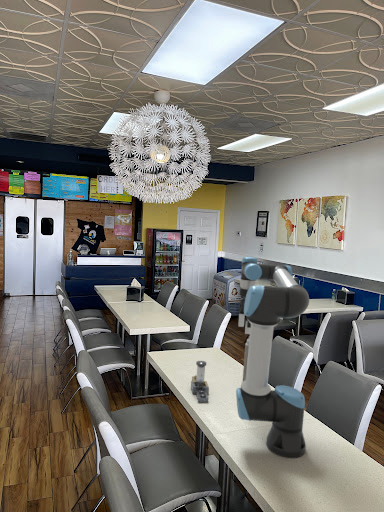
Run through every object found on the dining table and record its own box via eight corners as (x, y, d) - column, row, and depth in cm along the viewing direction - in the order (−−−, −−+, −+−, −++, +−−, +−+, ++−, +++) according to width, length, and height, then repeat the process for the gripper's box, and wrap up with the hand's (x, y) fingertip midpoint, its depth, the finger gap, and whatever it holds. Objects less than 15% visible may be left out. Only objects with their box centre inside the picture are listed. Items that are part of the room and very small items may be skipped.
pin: (205, 392, 201) (207, 364, 200) (195, 392, 201) (197, 364, 200) (203, 388, 207) (205, 360, 206) (194, 388, 206) (195, 360, 205)
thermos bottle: (254, 387, 212) (258, 337, 210) (240, 384, 216) (244, 334, 213) (258, 383, 219) (262, 334, 217) (245, 379, 223) (249, 331, 221)
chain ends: (211, 402, 191) (212, 395, 191) (194, 402, 190) (195, 395, 190) (203, 380, 218) (203, 374, 217) (188, 380, 217) (189, 374, 216)
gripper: (262, 292, 183) (258, 337, 185) (248, 284, 208) (245, 323, 209) (246, 292, 182) (243, 336, 184) (234, 284, 207) (231, 323, 209)
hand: (244, 330), depth 197 cm, fingers open, 13 cm apart
